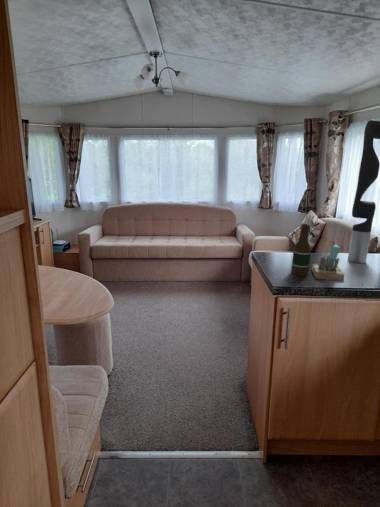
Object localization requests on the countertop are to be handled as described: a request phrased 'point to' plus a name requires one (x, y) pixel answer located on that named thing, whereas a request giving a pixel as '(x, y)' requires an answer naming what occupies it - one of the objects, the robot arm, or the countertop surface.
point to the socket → (329, 274)
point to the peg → (332, 255)
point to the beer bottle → (301, 253)
